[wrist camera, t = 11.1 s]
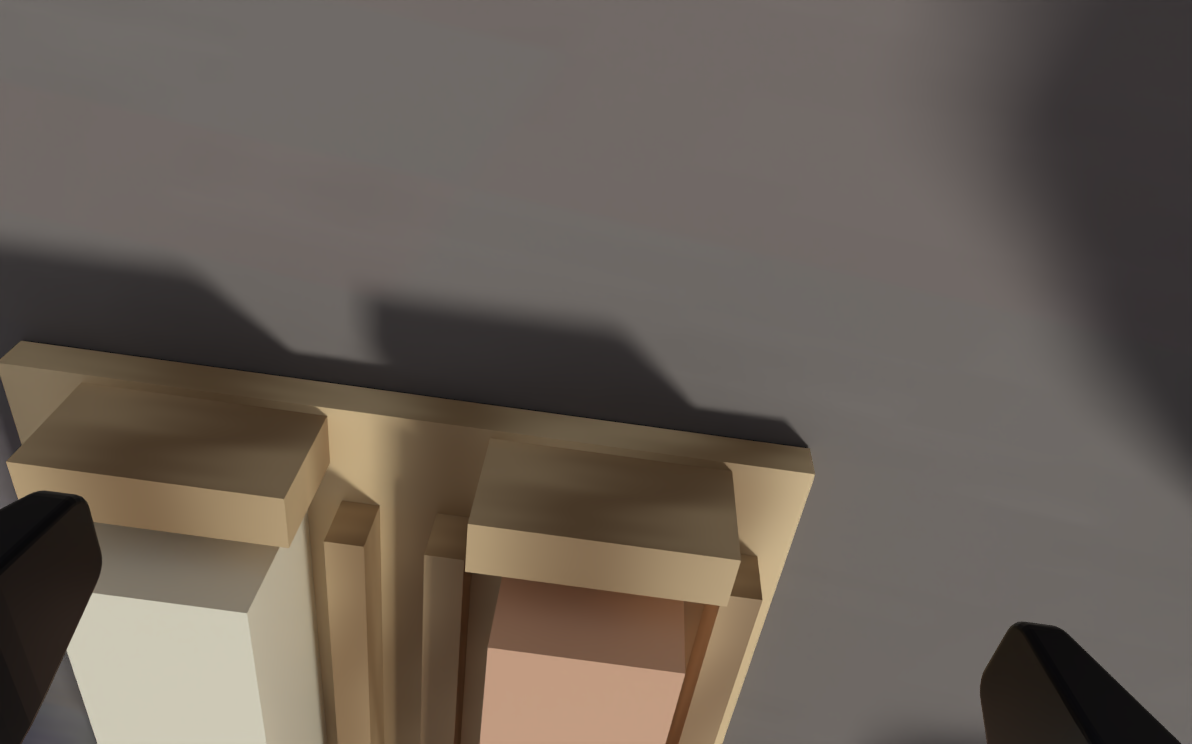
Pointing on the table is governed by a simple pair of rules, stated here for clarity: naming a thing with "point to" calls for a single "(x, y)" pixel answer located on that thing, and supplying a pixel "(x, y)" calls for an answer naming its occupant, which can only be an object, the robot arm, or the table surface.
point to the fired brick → (581, 666)
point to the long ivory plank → (200, 641)
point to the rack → (422, 517)
